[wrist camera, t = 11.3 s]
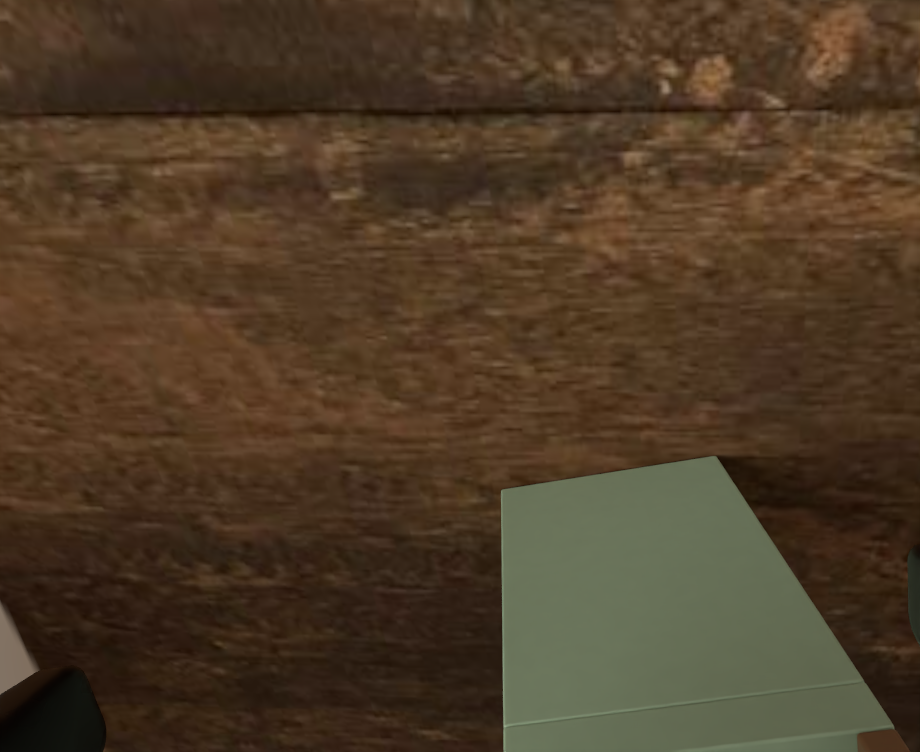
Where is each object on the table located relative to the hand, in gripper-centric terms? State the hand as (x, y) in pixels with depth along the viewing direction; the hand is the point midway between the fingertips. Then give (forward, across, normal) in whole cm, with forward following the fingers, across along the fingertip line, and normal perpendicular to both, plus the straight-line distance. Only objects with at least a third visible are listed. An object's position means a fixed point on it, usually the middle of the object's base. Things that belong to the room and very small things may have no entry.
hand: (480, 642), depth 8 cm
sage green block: (+13, -3, +9) cm, 16 cm away
